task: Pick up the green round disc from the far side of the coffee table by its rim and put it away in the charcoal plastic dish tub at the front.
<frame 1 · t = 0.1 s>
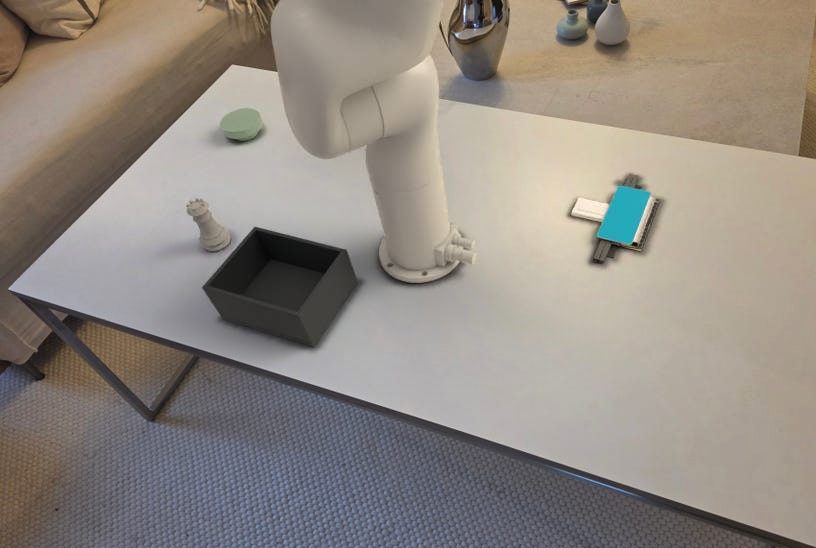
rook chess piece: (218, 243, 93), on the table
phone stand: (612, 217, 90), on the table
green round disc: (246, 133, 110), on the table
dish tub: (291, 300, 84), on the table
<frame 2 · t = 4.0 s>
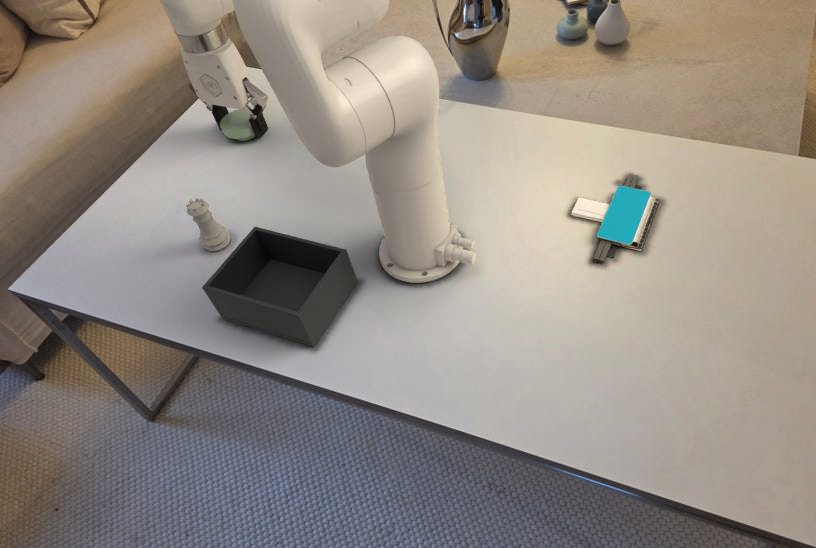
hand: (244, 129, 109), 1 cm above the table, tool pointing down, fingers closed on green round disc, 7 cm apart
green round disc: (246, 133, 110), on the table, touching gripper
everything else where it was.
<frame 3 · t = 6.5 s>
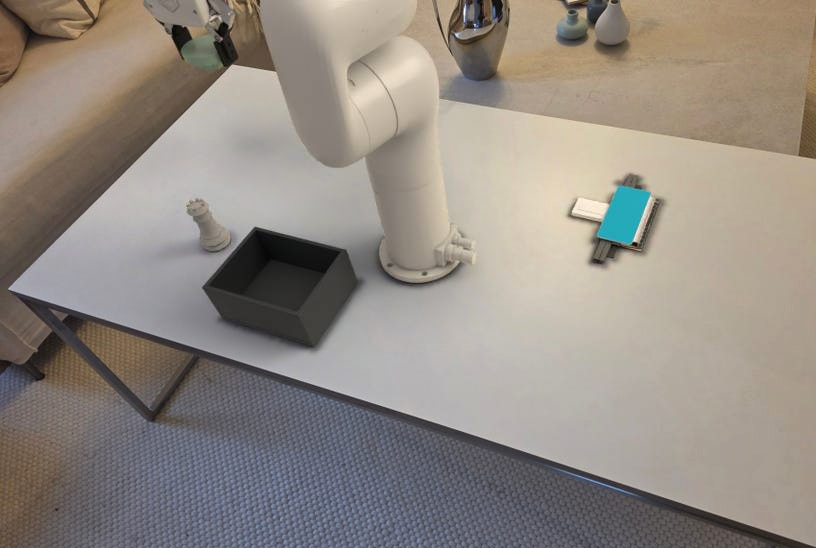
hand: (210, 58, 93), 17 cm above the table, tool pointing down, fingers closed on green round disc, 7 cm apart
green round disc: (213, 64, 94), point 16 cm above the table, touching gripper
everything else where it was.
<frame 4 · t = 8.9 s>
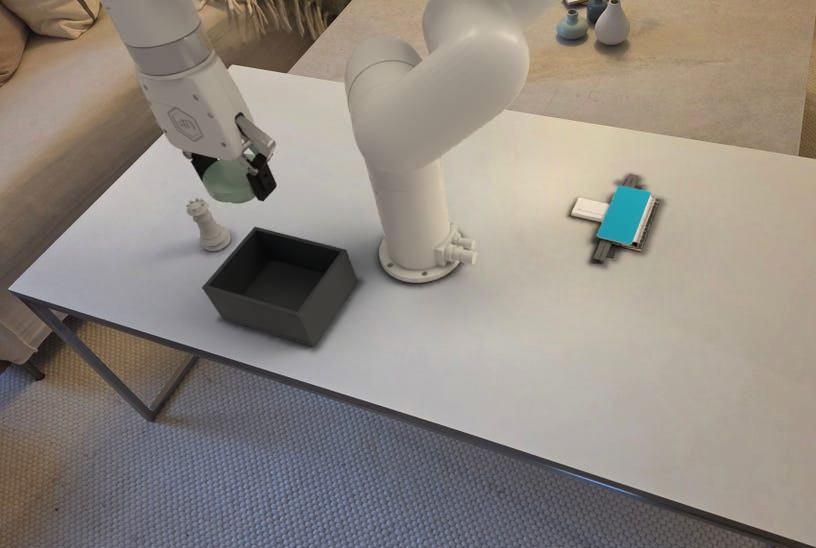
hand: (240, 186, 72), 18 cm above the table, tool pointing down, fingers closed on green round disc, 7 cm apart
green round disc: (243, 191, 73), point 17 cm above the table, touching gripper
everything else where it was.
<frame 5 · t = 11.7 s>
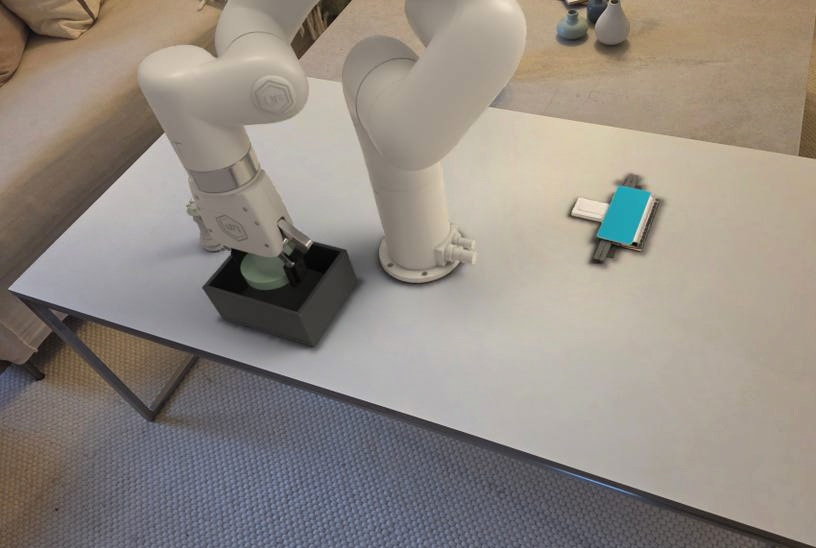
hand: (274, 272, 79), 6 cm above the table, tool pointing down, fingers closed on green round disc, 7 cm apart
green round disc: (276, 276, 80), point 5 cm above the table, touching gripper
everything else where it was.
when the fingers open (2 cm above the table, at t = 13.8 s): green round disc stays where it is, resting on dish tub.
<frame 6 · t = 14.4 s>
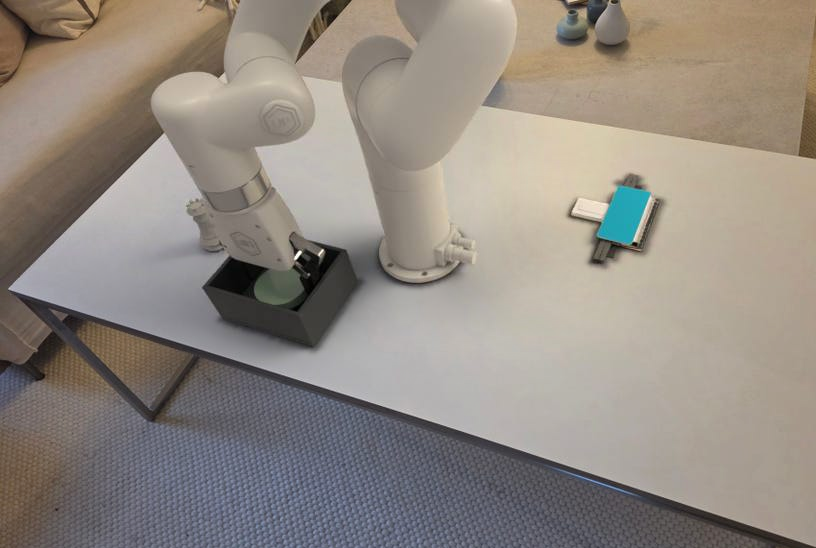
hand: (286, 281, 81), 4 cm above the table, tool pointing down, fingers open, 9 cm apart
green round disc: (287, 297, 83), point 1 cm above the table, touching dish tub
everything else where it was.
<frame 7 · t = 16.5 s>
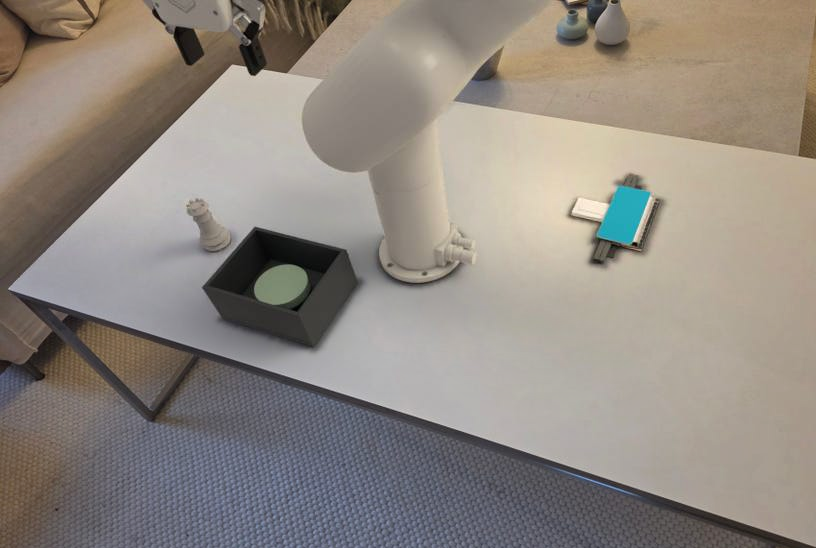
hand: (227, 65, 76), 25 cm above the table, tool pointing down, fingers open, 9 cm apart
nothing on the table moved.
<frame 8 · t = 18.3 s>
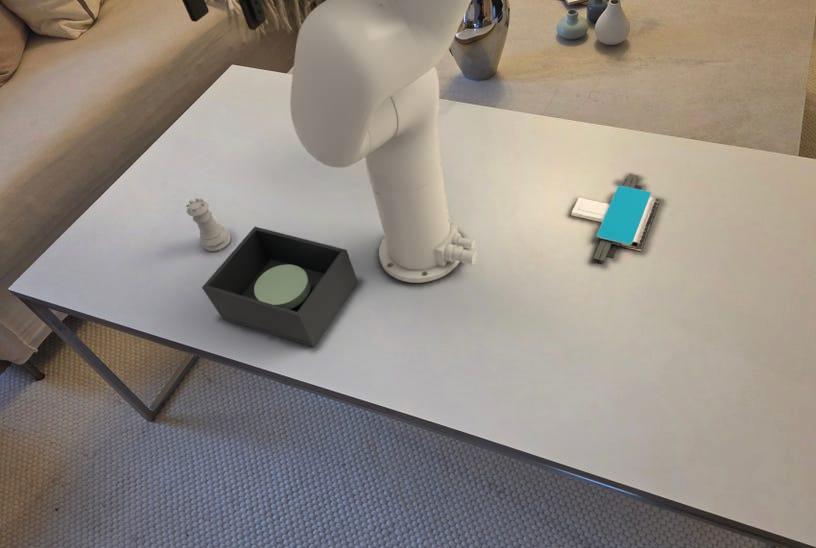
hand: (229, 21, 81), 26 cm above the table, tool pointing down, fingers open, 9 cm apart
nothing on the table moved.
at the end: green round disc inside the target area in the dish tub (0.3 cm from its centre), point 0.8 cm above the dish tub's base; green round disc tilted 0°; the gripper is holding nothing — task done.
